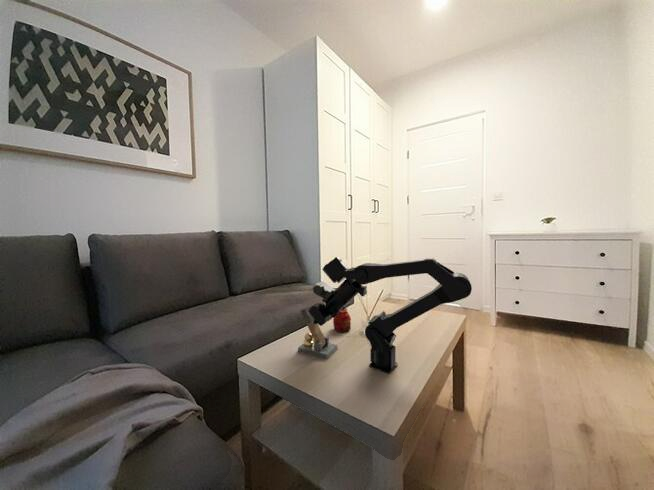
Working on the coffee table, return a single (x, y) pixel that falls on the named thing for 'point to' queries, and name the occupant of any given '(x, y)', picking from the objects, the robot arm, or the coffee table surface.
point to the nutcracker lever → (313, 327)
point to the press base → (317, 347)
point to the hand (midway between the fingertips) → (314, 322)
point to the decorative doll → (342, 321)
